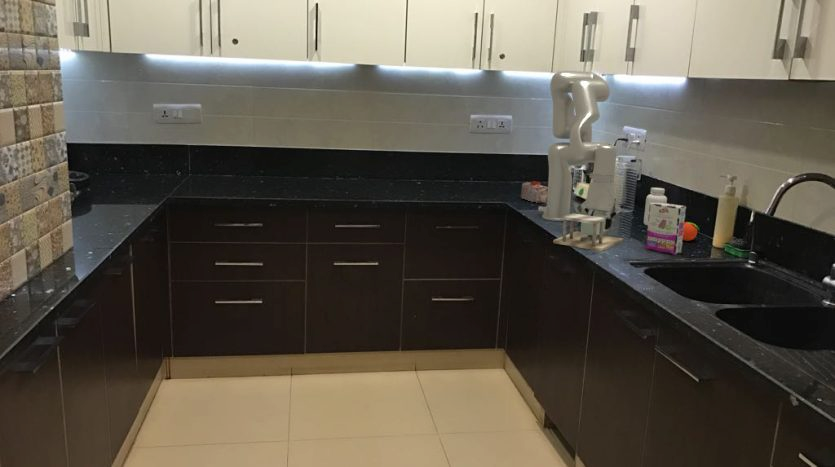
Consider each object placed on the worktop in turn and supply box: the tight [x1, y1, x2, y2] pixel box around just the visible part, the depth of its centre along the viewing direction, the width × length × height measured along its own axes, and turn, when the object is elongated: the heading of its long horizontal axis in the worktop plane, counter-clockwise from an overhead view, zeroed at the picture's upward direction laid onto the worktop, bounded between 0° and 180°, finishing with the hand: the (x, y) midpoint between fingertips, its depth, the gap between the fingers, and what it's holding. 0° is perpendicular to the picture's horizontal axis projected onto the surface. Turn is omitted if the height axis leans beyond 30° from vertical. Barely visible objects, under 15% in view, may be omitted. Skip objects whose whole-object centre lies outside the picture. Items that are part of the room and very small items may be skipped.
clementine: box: [683, 221, 700, 242], centre depth 257 cm, size 8×7×7 cm
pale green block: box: [580, 214, 610, 235], centre depth 255 cm, size 6×13×5 cm, turn 144°
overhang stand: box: [552, 213, 624, 252], centre depth 250 cm, size 18×20×10 cm
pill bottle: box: [643, 187, 668, 226], centre depth 283 cm, size 8×8×15 cm
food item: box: [520, 180, 548, 204], centre depth 329 cm, size 14×8×10 cm, turn 30°
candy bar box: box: [645, 202, 687, 256], centre depth 240 cm, size 11×5×16 cm, turn 45°
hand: (599, 227), depth 258 cm, fingers closed on pale green block, 5 cm apart
